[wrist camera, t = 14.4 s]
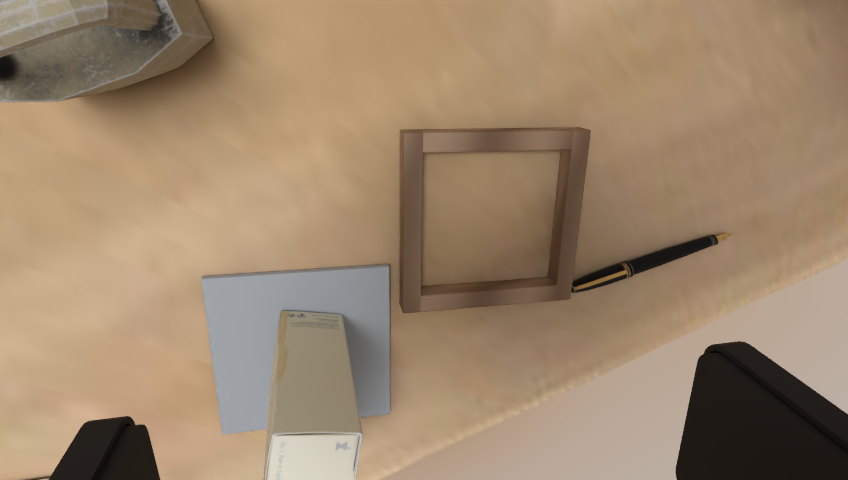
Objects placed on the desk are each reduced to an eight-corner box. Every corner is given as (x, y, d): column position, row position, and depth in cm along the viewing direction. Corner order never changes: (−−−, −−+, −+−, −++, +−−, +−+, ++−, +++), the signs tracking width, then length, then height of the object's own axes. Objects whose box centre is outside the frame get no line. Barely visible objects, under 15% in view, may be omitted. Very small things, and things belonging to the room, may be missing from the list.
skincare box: (279, 308, 35) (268, 428, 24) (346, 313, 36) (365, 430, 25) (269, 388, 37) (254, 536, 26) (333, 391, 38) (345, 533, 27)
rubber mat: (388, 264, 36) (389, 266, 36) (389, 409, 40) (390, 413, 40) (202, 275, 34) (201, 279, 33) (223, 429, 38) (222, 434, 37)
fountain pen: (727, 223, 41) (742, 229, 40) (728, 237, 42) (742, 243, 40) (559, 281, 40) (568, 289, 38) (561, 294, 40) (570, 302, 39)
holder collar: (579, 127, 36) (590, 130, 34) (561, 290, 40) (570, 299, 39) (399, 129, 33) (403, 133, 32) (399, 303, 37) (403, 313, 36)
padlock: (36, 30, 28) (-232, 8, 14) (185, -22, 28) (73, -92, 14) (79, 103, 29) (-124, 150, 15) (220, 52, 30) (148, 54, 16)
